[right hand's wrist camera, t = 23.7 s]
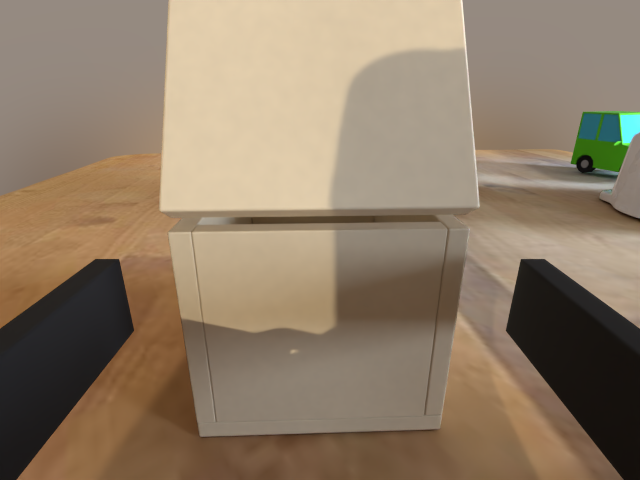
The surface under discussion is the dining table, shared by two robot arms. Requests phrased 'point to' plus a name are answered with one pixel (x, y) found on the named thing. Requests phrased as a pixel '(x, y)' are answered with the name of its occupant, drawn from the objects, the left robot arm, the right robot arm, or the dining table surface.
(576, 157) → the toy car
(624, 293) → the dining table surface
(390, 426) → the chest
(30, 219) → the dining table surface
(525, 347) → the right robot arm
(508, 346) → the dining table surface
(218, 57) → the lid
